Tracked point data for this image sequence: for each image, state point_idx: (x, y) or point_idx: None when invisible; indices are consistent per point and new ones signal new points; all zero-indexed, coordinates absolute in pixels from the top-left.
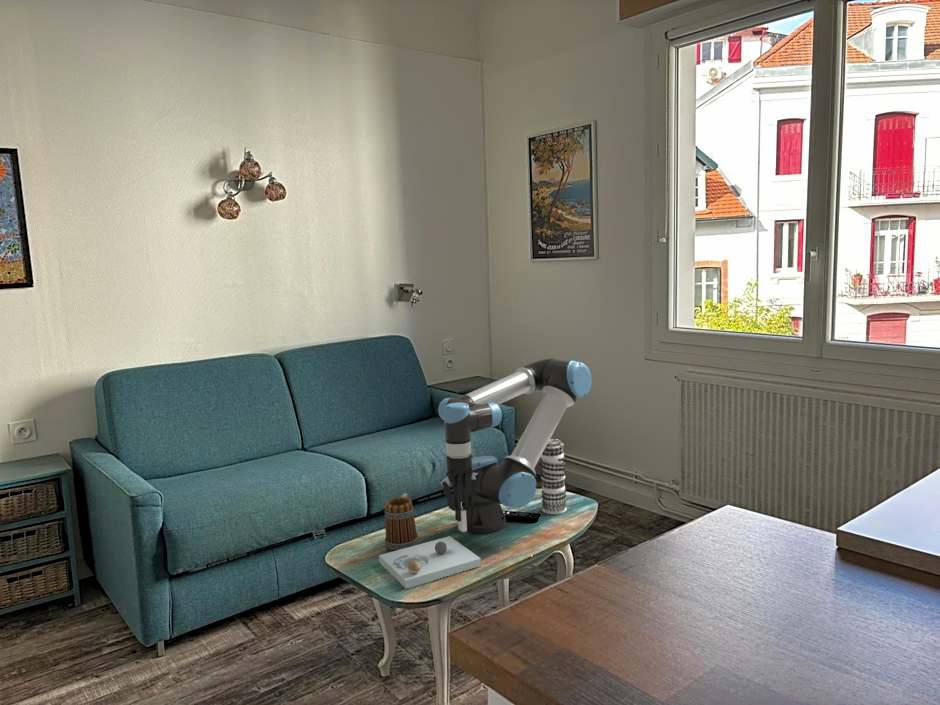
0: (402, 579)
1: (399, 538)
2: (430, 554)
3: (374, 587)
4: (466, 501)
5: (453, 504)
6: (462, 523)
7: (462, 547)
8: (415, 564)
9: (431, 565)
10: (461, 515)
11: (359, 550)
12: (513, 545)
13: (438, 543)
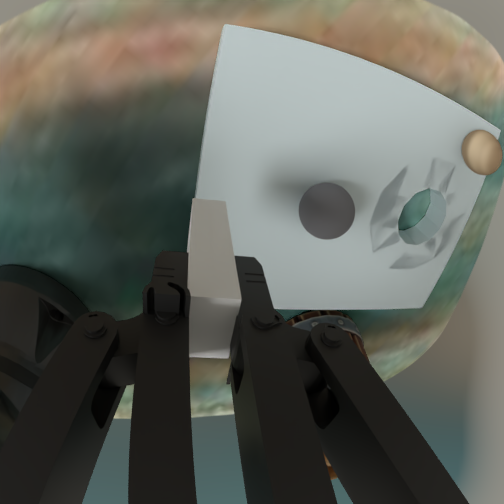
0: None
1: (358, 347)
2: None
3: (497, 193)
4: (167, 382)
5: (352, 378)
6: (228, 231)
7: (209, 185)
8: (497, 143)
9: (411, 141)
10: (235, 276)
11: (378, 362)
12: (3, 126)
13: (348, 221)
